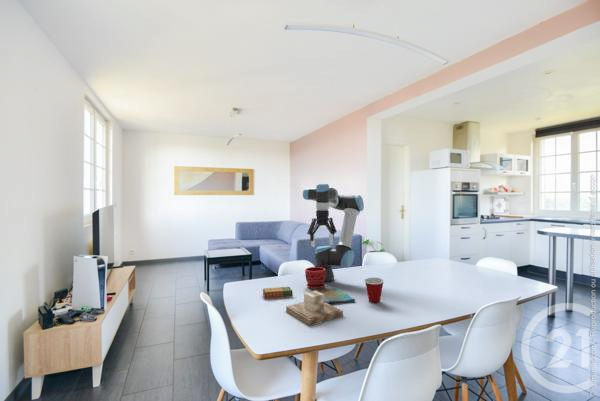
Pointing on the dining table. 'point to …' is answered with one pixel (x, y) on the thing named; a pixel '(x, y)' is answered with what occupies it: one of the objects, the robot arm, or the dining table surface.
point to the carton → (277, 292)
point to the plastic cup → (374, 289)
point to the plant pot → (315, 277)
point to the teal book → (335, 296)
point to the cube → (314, 300)
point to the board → (314, 313)
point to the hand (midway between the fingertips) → (322, 245)
